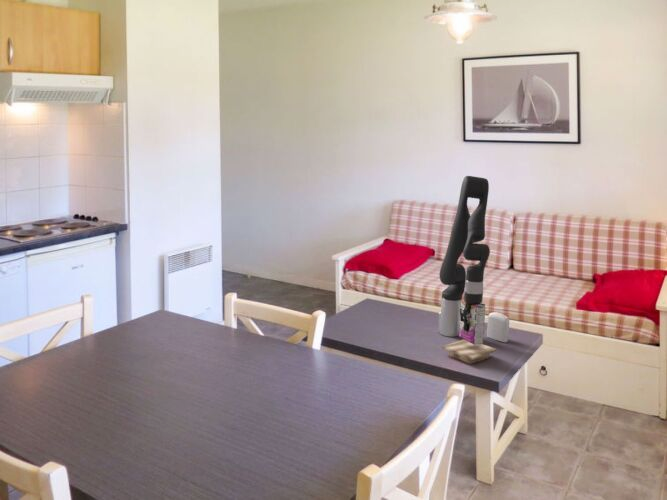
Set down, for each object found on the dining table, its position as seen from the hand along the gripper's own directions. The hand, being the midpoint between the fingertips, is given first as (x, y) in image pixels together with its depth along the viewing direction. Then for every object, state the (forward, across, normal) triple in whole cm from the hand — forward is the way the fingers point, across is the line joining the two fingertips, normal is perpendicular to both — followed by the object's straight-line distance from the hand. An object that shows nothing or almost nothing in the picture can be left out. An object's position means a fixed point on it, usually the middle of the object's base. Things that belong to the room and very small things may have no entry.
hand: (471, 329), depth 274 cm
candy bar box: (+5, 0, 0) cm, 5 cm away
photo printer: (+12, -28, -6) cm, 31 cm away
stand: (+12, 0, 0) cm, 12 cm away
